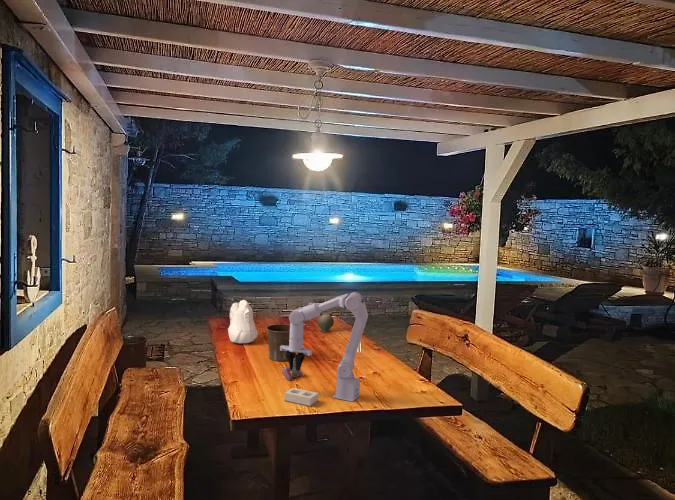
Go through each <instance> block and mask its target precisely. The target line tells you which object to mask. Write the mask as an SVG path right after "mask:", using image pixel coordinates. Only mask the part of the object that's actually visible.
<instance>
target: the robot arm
mask: <svg viewBox="0 0 675 500" xmlns="http://www.w3.org/2000/svg"><path fill="white" fill-rule="evenodd" d="M336 307H340V308H345V307H346V309H348V311H350V312H351V313H352V315H353V316H354V318H355V319H354V320H355V321H354V322H353V323H354V324H353V327H352V330H351V333H350V336H349V340H348V342H347V344H346V345H347V346H346V348H345V351H344V355H343V357H342V359H341V360H340V362H339V364H338V366H337V367H336V388H335V394H334V395H332V397H331V398H333V399H338V400H341V401H347V402H351V403H353V402H354V401H355V400H356V399H358V398H359V397H361V395H360V388H361V381H360V378H359V377H356V376H355V374H354V372H353V370H354V368H355V359H356V358H355V357H356V354H357V352H358V348H359V346H360V342H361V339H362V336H363V333H364V330H365V328H366V324H367V321H368V319H369V318H368V317H369V314H368V310H367V305H366V302H365V298H364V296H362V295H361V294H360V293H359V292H357V291H353V292H350V293H344V294H342V295H338V296H336V297H334V298H331V299H329V300H326V301H325V302H321V303H316V302H309V303H308V305H306V306H303V307H301V306H300V307H298V308H296V309H294V310H292V311H291V312H290V314H289V315H288V320H289V322H290V323H289V325H290V338H289V346H285V345H282V346H280V351H287V353H285V355H286V357H287V359H288V361H287V362H288V365H290V369H291V370H292V362H293V357H296V370H297V371H299V370H300V369H301V367H302V364H303V362H304V360H305V358H306V357H307V356H309V357H310V356H312V355H313V350H312V349H308V348H305V347H304V322H305V321H309V320H311V319H314V318H317V317H319V316H320V314H322V312H325V311H327V310H330V309H333V308H336Z"/></svg>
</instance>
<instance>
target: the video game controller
mask: <svg viewBox="0 0 675 500" xmlns="http://www.w3.org/2000/svg"><path fill="white" fill-rule="evenodd" d="M281 373H282V375H283V376H284V378H285V379H286V381H288V382H291V380H292V370H291V369H290V365H289V364H288V365H286V366H284V367H283V368H282V369H281ZM299 376H300V377H301V378H302V377H304V372H303V370H302V369H301V368H300V370H299V371H298V377H299Z"/></svg>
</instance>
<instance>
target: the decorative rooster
mask: <svg viewBox="0 0 675 500" xmlns="http://www.w3.org/2000/svg"><path fill="white" fill-rule="evenodd" d="M253 312H254V311H253V309H252V306H251V305H250V303H249V302H248V301H247V300H246V299H242V300H240V301H239V302H234V303H232V304H231V307H230V309H229V321H230V322H229V326H228V328H227V331H228V336H229V337H228V338H229V340H230V342H232V343H235V344H249V343H252V342H254V341H255V340H256V339H257V338H258V336H259V333H258V330H257V328H256V325H255V321H254V313H253Z"/></svg>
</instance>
